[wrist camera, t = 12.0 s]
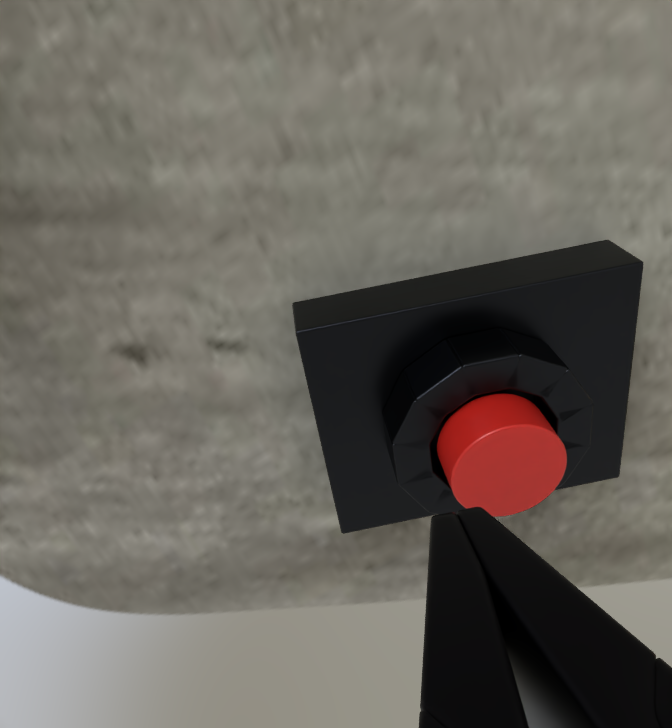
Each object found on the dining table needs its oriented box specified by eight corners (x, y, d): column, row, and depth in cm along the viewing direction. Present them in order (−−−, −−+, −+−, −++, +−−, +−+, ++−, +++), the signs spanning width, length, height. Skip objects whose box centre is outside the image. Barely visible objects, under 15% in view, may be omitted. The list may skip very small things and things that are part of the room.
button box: (335, 495, 25) (347, 572, 21) (292, 302, 20) (298, 361, 17) (592, 442, 25) (646, 510, 21) (608, 238, 20) (680, 284, 17)
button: (440, 489, 20) (454, 527, 19) (432, 404, 18) (447, 439, 17) (543, 468, 20) (566, 504, 19) (545, 382, 18) (570, 414, 17)
